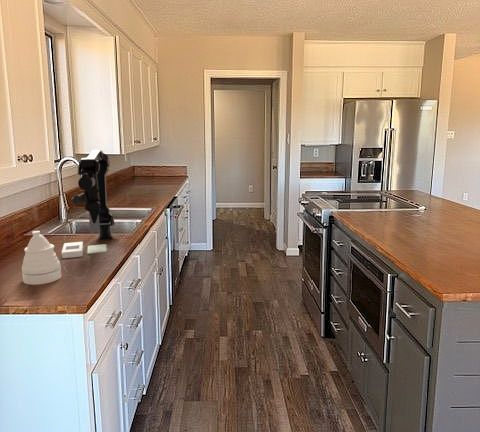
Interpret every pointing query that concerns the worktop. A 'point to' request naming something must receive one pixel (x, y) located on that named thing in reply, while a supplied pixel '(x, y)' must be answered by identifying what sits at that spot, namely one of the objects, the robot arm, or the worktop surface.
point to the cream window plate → (72, 250)
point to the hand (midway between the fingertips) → (94, 221)
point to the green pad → (96, 249)
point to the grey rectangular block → (94, 224)
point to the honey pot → (40, 261)
